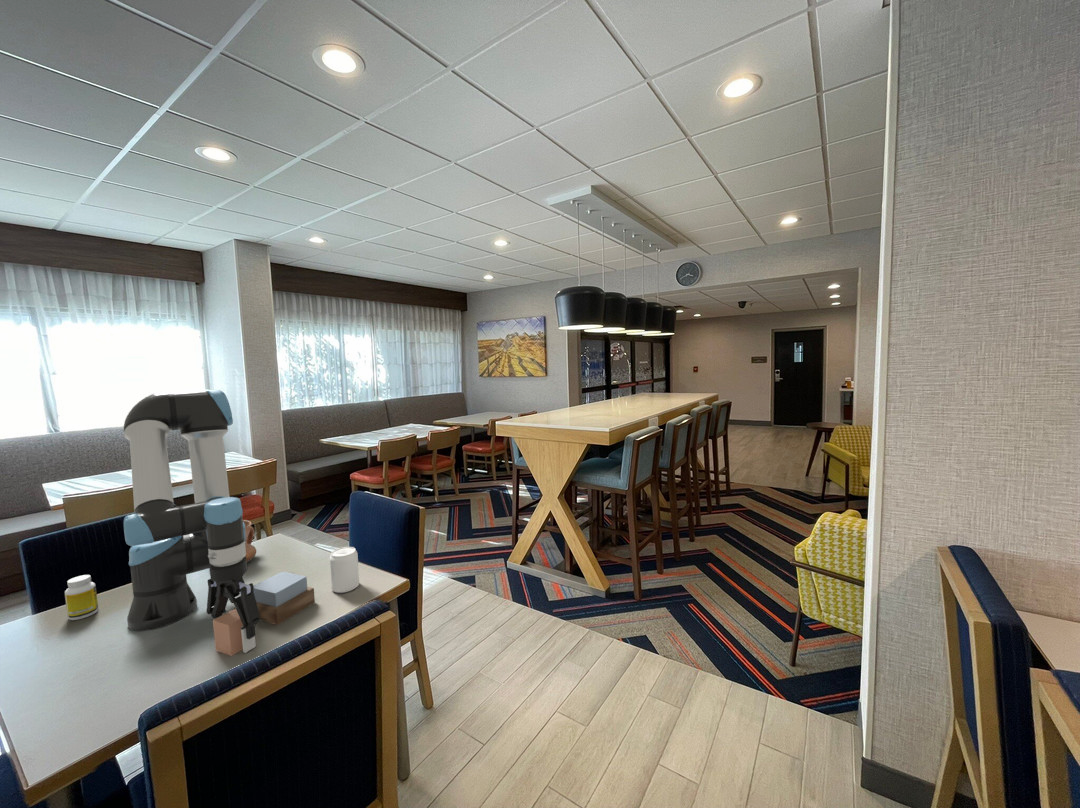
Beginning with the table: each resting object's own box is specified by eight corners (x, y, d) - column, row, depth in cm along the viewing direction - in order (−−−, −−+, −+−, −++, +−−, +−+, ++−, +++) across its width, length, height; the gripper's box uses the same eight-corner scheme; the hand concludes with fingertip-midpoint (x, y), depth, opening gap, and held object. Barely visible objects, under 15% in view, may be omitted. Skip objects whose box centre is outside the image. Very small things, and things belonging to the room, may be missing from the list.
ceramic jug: (229, 576, 149) (226, 535, 148) (193, 572, 152) (191, 532, 150) (271, 554, 166) (269, 518, 165) (238, 551, 169) (236, 515, 168)
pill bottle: (102, 611, 128) (98, 575, 127) (73, 623, 123) (69, 585, 122) (92, 607, 131) (88, 571, 130) (63, 618, 125) (59, 581, 124)
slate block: (251, 600, 124) (250, 587, 124) (283, 583, 134) (282, 571, 133) (276, 607, 121) (275, 593, 120) (307, 589, 130) (306, 576, 129)
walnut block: (248, 618, 124) (246, 601, 124) (286, 596, 136) (285, 581, 135) (277, 626, 120) (276, 609, 120) (314, 604, 131) (313, 588, 131)
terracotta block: (215, 650, 110) (212, 620, 109) (239, 636, 115) (237, 607, 114) (231, 656, 107) (228, 625, 107) (255, 641, 113) (252, 612, 112)
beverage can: (349, 595, 135) (346, 557, 134) (326, 593, 136) (323, 556, 135) (364, 582, 143) (362, 546, 141) (342, 580, 144) (340, 545, 143)
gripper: (183, 560, 110) (192, 644, 112) (243, 574, 102) (251, 664, 104) (215, 548, 117) (222, 627, 119) (273, 560, 109) (280, 645, 111)
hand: (235, 644), depth 111 cm, fingers open, 9 cm apart
